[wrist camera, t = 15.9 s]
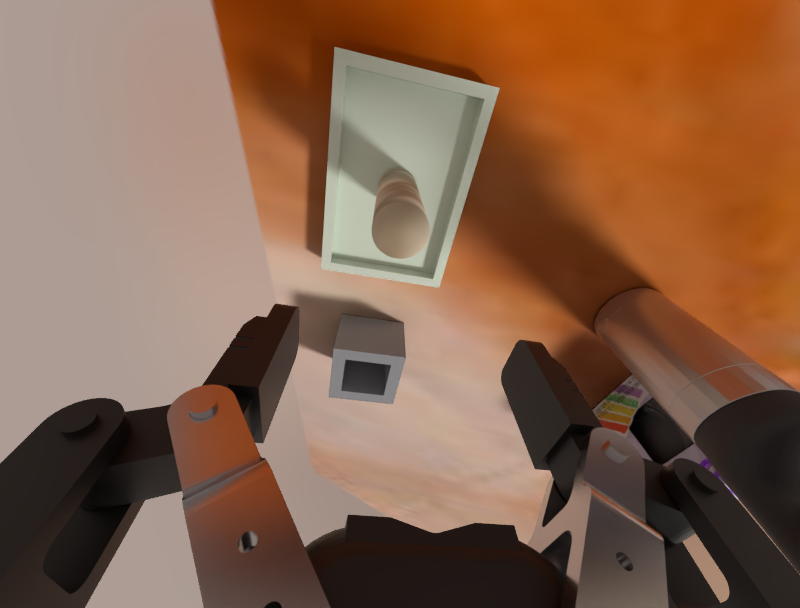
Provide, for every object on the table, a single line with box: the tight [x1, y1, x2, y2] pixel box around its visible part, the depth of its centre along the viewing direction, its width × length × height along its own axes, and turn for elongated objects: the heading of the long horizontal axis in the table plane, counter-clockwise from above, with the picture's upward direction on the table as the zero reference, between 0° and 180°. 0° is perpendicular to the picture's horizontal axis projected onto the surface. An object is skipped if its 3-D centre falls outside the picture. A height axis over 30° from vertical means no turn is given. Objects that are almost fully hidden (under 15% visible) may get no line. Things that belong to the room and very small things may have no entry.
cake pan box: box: [592, 374, 738, 500], centre depth 46 cm, size 19×5×18 cm, turn 156°
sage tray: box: [321, 47, 500, 288], centre depth 32 cm, size 14×20×2 cm
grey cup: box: [329, 314, 406, 404], centre depth 41 cm, size 9×9×7 cm
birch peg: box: [371, 168, 430, 259], centre depth 26 cm, size 4×4×13 cm
